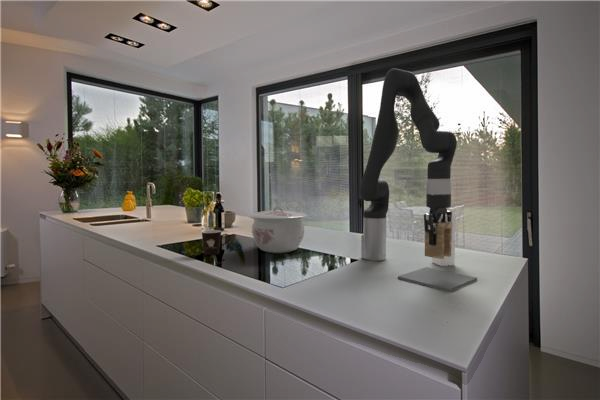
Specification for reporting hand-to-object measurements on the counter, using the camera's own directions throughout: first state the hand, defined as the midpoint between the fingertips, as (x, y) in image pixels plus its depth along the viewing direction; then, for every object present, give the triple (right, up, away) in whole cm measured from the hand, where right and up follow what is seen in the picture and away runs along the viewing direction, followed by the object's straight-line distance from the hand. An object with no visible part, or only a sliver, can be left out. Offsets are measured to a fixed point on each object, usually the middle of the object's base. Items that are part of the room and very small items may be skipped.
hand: (437, 243), depth 114 cm
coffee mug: (-84, -10, +42) cm, 94 cm away
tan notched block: (0, -4, 0) cm, 4 cm away
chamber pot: (-55, -9, +48) cm, 74 cm away
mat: (0, -12, +1) cm, 12 cm away
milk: (+10, -11, +21) cm, 26 cm away
